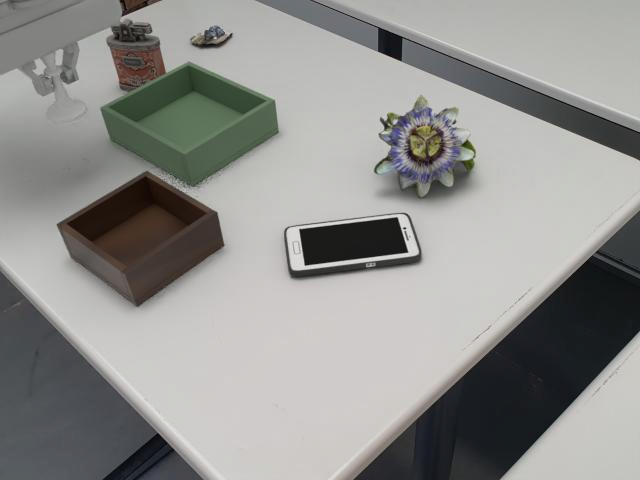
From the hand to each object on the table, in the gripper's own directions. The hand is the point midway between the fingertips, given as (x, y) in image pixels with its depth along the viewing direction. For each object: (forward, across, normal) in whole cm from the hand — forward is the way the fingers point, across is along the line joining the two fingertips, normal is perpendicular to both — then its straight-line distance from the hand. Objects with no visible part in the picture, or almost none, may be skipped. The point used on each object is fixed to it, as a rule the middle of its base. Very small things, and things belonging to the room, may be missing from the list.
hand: (58, 87), depth 81 cm
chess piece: (+4, 0, 0) cm, 4 cm away
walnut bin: (+12, +5, +19) cm, 23 cm away
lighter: (+12, -18, -11) cm, 25 cm away
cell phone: (+11, -10, +37) cm, 40 cm away
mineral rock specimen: (+12, -35, -15) cm, 40 cm away
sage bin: (+12, -14, +5) cm, 19 cm away
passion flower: (+11, -26, +35) cm, 45 cm away
